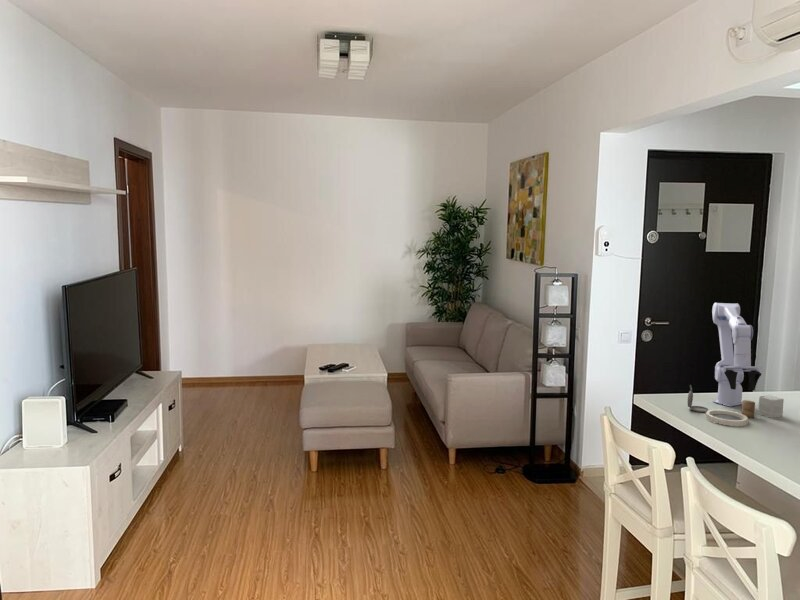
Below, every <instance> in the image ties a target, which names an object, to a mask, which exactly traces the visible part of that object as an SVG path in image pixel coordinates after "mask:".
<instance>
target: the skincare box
mask: <svg viewBox="0 0 800 600" xmlns="http://www.w3.org/2000/svg"><path fill="white" fill-rule="evenodd" d="M784 402H785V401H784V398H781V397H777V396H774V395H772V394H771V395H770V394H768V395H759V397H758V415H761V416H764V417H768V418H771V419H775V418H782V417H783V414H784Z"/></svg>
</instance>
